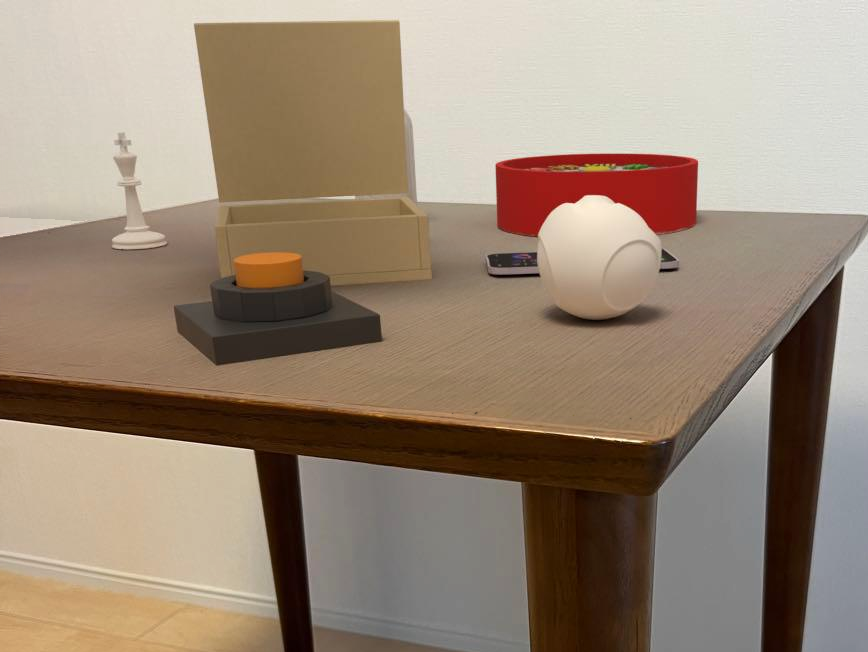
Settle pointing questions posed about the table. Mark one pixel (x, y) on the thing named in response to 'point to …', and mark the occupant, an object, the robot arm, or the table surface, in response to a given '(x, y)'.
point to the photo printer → (410, 166)
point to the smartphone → (528, 263)
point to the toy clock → (597, 188)
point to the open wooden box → (332, 237)
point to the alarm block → (274, 320)
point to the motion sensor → (597, 257)
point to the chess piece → (133, 205)
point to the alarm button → (268, 270)
